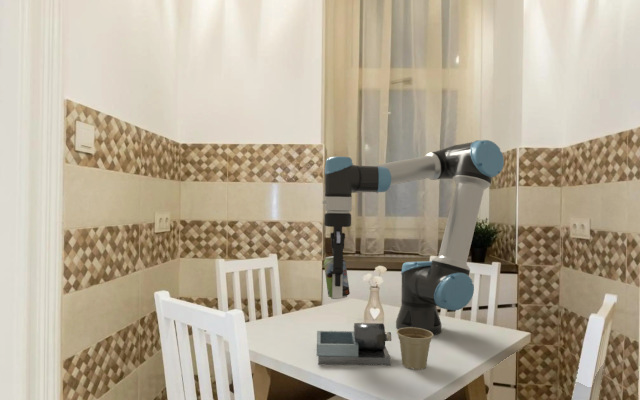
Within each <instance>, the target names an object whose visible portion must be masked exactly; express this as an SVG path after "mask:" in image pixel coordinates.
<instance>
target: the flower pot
mask: <svg viewBox="0 0 640 400" xmlns="http://www.w3.org/2000/svg"><path fill="white" fill-rule="evenodd" d="M396 334H397V337H398V340H399V347H400V356H401V364H402V365H403V367H405V368H407V369H413V370H417V371H418V370H419V371H420V370H424V369H425V368H426V367H427V365H428V363H427V362H428V357H429V351H430V346H431V344H430V343H431V342H432V338H433V337H434V335H433V333H432V332H430V331H428V330H425V329H421V328H413V327H412V328H411V327H409V328H408V327H407V328H401V329H397V330H396Z"/></svg>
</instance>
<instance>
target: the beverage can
mask: <svg viewBox="0 0 640 400" xmlns="http://www.w3.org/2000/svg"><path fill="white" fill-rule="evenodd" d="M323 266H324V274H325V283H326V288H327V289H326V290H327V296H328V297H329V298H331V300H340V299H341V300H343V299H346V298H348V296H349V295H350V294H351V292H350V285H349V279H348V278H349V277H348V270H347V262H346V259H345V258H344V257H343V273H342V274H343V289H342V298H332V281H333V274H330V272H331V271H333V256H332V255H331V256H326V257H324V260H323Z"/></svg>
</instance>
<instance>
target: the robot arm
mask: <svg viewBox="0 0 640 400" xmlns="http://www.w3.org/2000/svg"><path fill="white" fill-rule="evenodd" d="M504 164H505V160H504V155H503V152H502V151H501V148H500V147H499V146H498V145H497V144H496V143H495V142H493V141H492V140H488V139H482V140H481V139H480V140H474V141H471V142H465V143H461V144H455V145H452V146H449V147H446V148H445V147H444V148H442V149H439V150H436V151H432V152H428V153H426V154H425V155H424V156H419V157H415V158H414V157H413V158H409V159H408V158H407V159H402V160H396V161H391V162H385V163H380V164H373V165H355V164H354V163H353V159H352V158H351V157H348V156H330V157H327V159H326V160H325V166H324V200H322V204H325V205H324V211H325V213H324V214H323V215H324V219H323V222H324V223H323V225H324V226H325V227H328V228H329V227H332V228H333V229H332V230H333V232H330V235H329V236H330V248H331V250H332V253H331V254H332V255H331V256H333V271H331V272H330V274H333V281H332V298H342V289H343V274H342V273H343V258H344V249H345V239H346V233H345V232H343V228H349V227H351V226H352V213H350V212H351V211H352V209H353V208H352V207H353V205H352V203H353V202H352V199H353V197H352V196H353V195H352V194H355V193H360V194H361V193H377V194H378V193H385V192H388V190H390V188H391V186H394V185H400V184H405V183H410V182H415V181H421V180H426V179H429V180H430V181H436V180H442V179H443V180H445V179H446V180H448V179H449V180H450V179H451V180H453V183H455V187H454V191H453V196H452V199H451V200H452V201H451V203H450V209H449V211H448V215H447V216H448V217H447V220H446V223H445V229H444V232H443V237H442V240H441V245H440V248H439V251H438V256H436V257H435V258H432V260H429V261H427V260H426V261H425V260H423V261H406V262H404V263H402V267H401V273H400V274H401V304H400V305H401V306H400V309H399V312H398V314H397V318H396V321H395V328H396V329H397V330H398V329H401V328H407V327H408V328H409V327H411V328H412V327H413V328H421V329H425V330H428V331H430V332H432V333H433V336H435V335H438V334H440V333H442V327H443V326H442V322H441V318H440V314H439V312H438V308H440V309H444V310H448V311H459V310H461V309H463V308H464V307H466V306H468V304H470V302H471V300H472V299H473V297H474V292H475V285H474V284H473V279H472V278H471V277H470V273H471V269H470V267H469V266H468V262H467V261H468V257H469V254H470V249H471V245H472V241H473V237H474V235H475V234H474V232H475V229H476V225H477V221H478V216H479V212H480V208H481V204H482V200H483V195H484V191H485V190H486V189H488V188H491V184H492V179H493V178H494V177H496V176H498V175H499V174H501V172H502V170H503V168H504ZM342 299H343V298H342ZM437 307H438V308H437Z"/></svg>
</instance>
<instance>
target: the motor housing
mask: <svg viewBox="0 0 640 400" xmlns="http://www.w3.org/2000/svg"><path fill="white" fill-rule="evenodd" d="M385 329H386V328H385V324H384V323H377V322H375V323H373V322H361V323H360V322H354V323H353V330H350V331H349V330H348V331H347V330H345V331H344V330H317V331H316V357H318V358H317V359H318V360H317V361H318V364H317V365H321V366H322V365H324V366H325V365H328V366H332V365H333V366H336V365H337V366H340V365H341V366H391V365H392V359H391V355H390V353H389V351H388V349H387V346H386V342H392V333H391V332H390V331H386V330H385Z"/></svg>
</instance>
